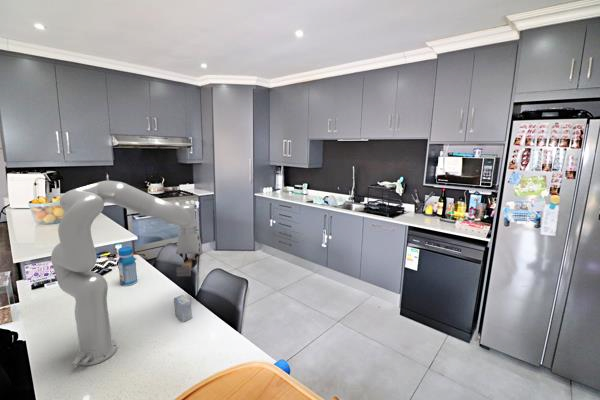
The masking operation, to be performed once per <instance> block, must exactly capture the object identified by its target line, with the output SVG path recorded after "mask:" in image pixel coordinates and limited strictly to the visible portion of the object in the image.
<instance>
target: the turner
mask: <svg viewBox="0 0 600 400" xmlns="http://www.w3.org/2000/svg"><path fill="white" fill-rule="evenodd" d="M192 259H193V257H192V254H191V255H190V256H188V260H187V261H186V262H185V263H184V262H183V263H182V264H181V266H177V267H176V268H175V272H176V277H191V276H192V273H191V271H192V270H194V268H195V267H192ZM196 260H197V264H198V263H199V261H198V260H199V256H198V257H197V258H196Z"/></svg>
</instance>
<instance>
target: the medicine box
mask: <svg viewBox="0 0 600 400" xmlns="http://www.w3.org/2000/svg"><path fill="white" fill-rule="evenodd" d="M173 304H174V316H176V317H177V318H178V319H179V320H180V321H181V322H183V323H184V322H187V321H188V320H190V319H192V318H193V315H192V314H193V313H192V311H193V310H192V301H191V299H189V298H188V297H187V296H185V295H184V294H181V295H178V296H175V297H174V298H173Z"/></svg>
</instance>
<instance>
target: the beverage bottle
mask: <svg viewBox="0 0 600 400" xmlns="http://www.w3.org/2000/svg"><path fill="white" fill-rule="evenodd" d="M117 252H118V254H117V255H118V256H119V258H118V260H117V263H118V265H117V267H118V274H119V283H120V285H121V286H123V287H128V286H131V285H132V286H133V285H135V284H136V283H137V282H138V275H137V262H136V257H135V256H134V255H133V254H134V249H133V247H132V246H124V247H123V246H122V247H120V248H118V249H117Z"/></svg>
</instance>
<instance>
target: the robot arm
mask: <svg viewBox="0 0 600 400" xmlns="http://www.w3.org/2000/svg"><path fill="white" fill-rule="evenodd" d="M106 203H109V204H112V205H113V204H114V205H116V206H118V207H121V208H124V209H127V210H130V211H132V212H134V213H137V214H140V215H143V216H146V217H151V218H156V219H159V220H160V221H161V222H163V223H165V224H169V225H173V226H178V231H179V233H177V246H176V247H177V249H176V251H175V254H176V255H178V256H180V257H181V258H182V260H183V264H184V263H185V262H186V261H187V260H188V258H189V256H188V254H191V255H192V257H193V259H192V267H194V268H195V266H197V265H198V263H197V260H196V258H197V257H198V258H199V256H201V255H203V254H204V250H203V249H202V242H201V237H200V233H199V231H200V228H199V227H197V218H196V206H195V205H194V204H192V203H183V204H179V205H177V204H175V203H173V202H169V201H166V200H164V199H162V198H159V197H157V196H155V195H152V194H150V193H147V192H145V191H143V190H140V189H138V188H136V187H135V186H132V185H129V183H125V182H122V181H117V180H102V181H98V182H94V183H91V184H87V185H85V186H81V187H77V188H73V189H71V190H68V191H65V193H64V194H63V195H61V197H60V199H59V207H60V208H61V210H63V211H64V212H65V213H64V214H63V216H62V218H61V219H60V221H59V224H58V228H57V233H58V238H59V242H58V243H57V244H56V245H55V247H53V249H52V252H51V255H50V258H51V259H50V260H51V265H52V267H53V272H54V274H55V277H56V281H57V285H58V286H59V288H60V289H61V290H62V292H64V293H65V294H67V295H70V296H71V297H73V298H74V300H75V304H74V306H75V307H74V319H75V323H76V332H77V338H78V344H79V350H78V351H77V354H76V355H75V359H74V360H73V361H72V362H71V363H70V367H71V368H73V369H74V368H77V366H78V365H80V366H93V365H97V364H100V363H101V362H104V361H106V360H107V359H109V358H111V357H112V356H113V355H114V354H115V353H116V351H117V349H118V343H117V341H116V340H114V339H112V332H111V324H110V323H111V322H110V316H109V308H108V291H109V290H108V289H109V287H108V285H109V284H108V281H107V280H106V278H105V277H104V276H103V275H101V274H100V273H97V272H95V271H92V269H93V268H94V267H95V266H96V264H97V259H98V257H97V252H96V248H95V244H94V240H93V237H92V230H91V228H92V224H93V222H94V221H95V219H96V218H98V216H99V215H100V214H101V213H102V212H103V210H104V207H105V204H106Z"/></svg>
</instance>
